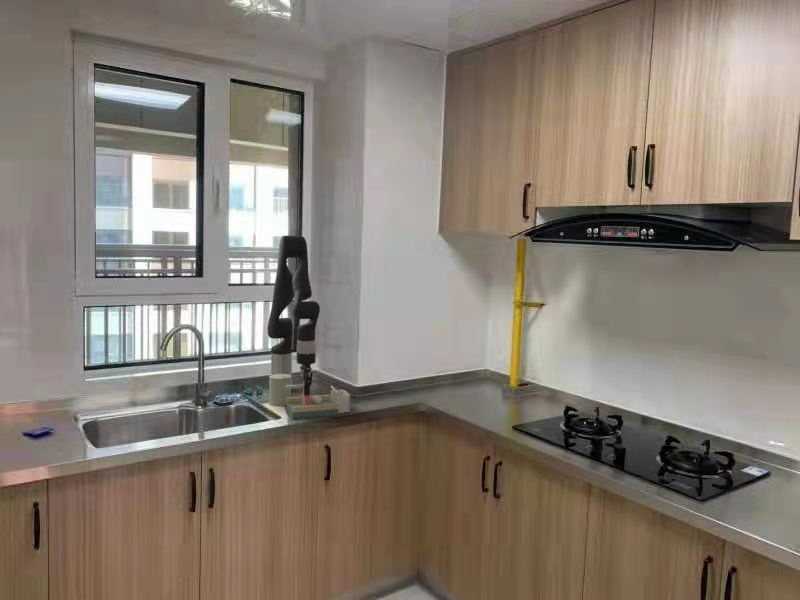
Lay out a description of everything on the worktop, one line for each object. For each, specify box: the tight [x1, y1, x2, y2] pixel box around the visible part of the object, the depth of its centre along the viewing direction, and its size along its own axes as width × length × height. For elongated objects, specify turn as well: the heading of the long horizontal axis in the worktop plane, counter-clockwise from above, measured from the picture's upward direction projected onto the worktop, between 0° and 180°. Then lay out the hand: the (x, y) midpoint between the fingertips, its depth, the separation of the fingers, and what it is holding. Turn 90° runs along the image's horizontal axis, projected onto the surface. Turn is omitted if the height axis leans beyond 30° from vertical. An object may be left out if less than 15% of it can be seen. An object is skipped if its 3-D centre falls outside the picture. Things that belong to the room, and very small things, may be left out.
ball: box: [312, 395, 322, 405], centre depth 247 cm, size 4×4×4 cm
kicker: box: [286, 382, 317, 406], centre depth 244 cm, size 7×12×9 cm, turn 110°
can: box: [268, 374, 292, 407], centre depth 259 cm, size 9×9×12 cm
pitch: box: [285, 394, 339, 419], centre depth 246 cm, size 15×18×4 cm
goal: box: [330, 385, 351, 414], centre depth 250 cm, size 10×6×9 cm, turn 20°
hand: (306, 393), depth 245 cm, fingers closed on kicker, 3 cm apart
